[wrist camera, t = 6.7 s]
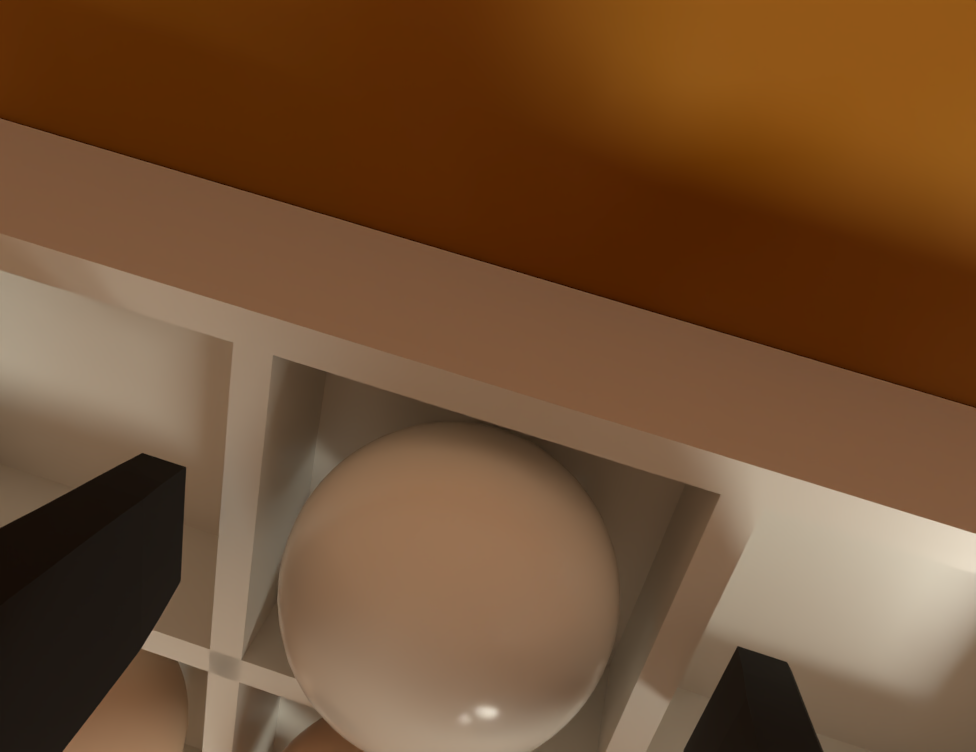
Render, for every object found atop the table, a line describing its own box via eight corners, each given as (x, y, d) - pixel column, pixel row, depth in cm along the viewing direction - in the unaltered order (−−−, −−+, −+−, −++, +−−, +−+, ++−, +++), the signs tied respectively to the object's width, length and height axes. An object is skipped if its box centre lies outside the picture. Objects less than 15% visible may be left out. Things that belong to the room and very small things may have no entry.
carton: (1210, 477, 12) (1477, 835, 8) (833, 947, 19) (863, 1285, 14) (-46, 104, 14) (-411, 230, 9) (7, 659, 20) (-195, 887, 16)
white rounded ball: (674, 417, 13) (657, 657, 9) (584, 635, 15) (542, 897, 11) (370, 322, 13) (231, 516, 9) (327, 550, 15) (202, 779, 12)
